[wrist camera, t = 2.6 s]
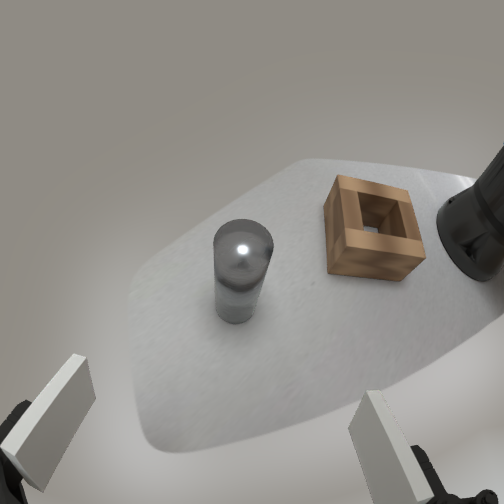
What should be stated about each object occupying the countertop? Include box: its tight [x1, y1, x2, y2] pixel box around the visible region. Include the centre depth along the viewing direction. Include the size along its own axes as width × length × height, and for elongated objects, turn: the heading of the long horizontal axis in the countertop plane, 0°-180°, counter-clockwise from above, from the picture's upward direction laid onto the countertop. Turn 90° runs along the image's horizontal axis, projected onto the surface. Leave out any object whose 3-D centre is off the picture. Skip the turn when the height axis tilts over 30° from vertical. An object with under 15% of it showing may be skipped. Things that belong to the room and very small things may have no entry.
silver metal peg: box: [213, 219, 274, 324], centre depth 25 cm, size 4×4×12 cm
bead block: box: [324, 175, 426, 281], centre depth 33 cm, size 10×10×6 cm
